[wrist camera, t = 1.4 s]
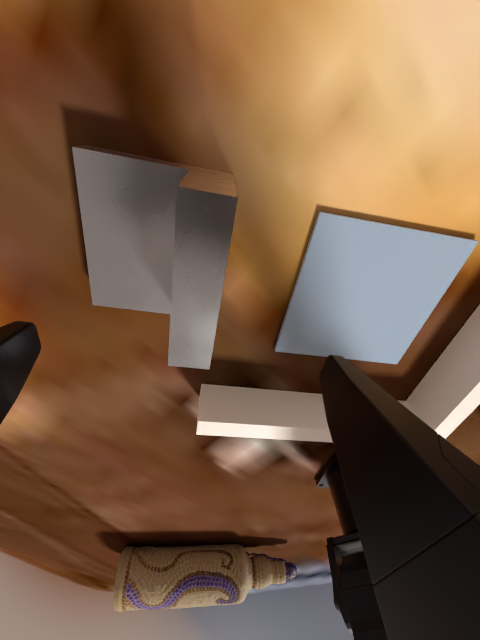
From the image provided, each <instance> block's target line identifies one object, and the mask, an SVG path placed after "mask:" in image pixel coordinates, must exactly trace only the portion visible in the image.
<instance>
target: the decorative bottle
mask: <svg viewBox="0 0 480 640" xmlns="http://www.w3.org/2000/svg"><path fill="white" fill-rule="evenodd" d="M247 555H249V556H250V555H253V557H251V558H250V557H248V556H247ZM284 562H286V560H283V559H281V558H279V559H277V558H271V557H268V556H267V555H265V554H255V553H252V554H249V553H248V552H246V551H245V549H244V548H243V546H241V545H239V544H232V545H227V544H224V545H198V546H166V547H147V546H144V547H132V546H130V547H125V548H124V550H123V551H122V554H121V556H120V560H119V564H118V568H117V573H116V580H115V587H114V610H115V611H117V612H122V611H125V610H130V611H131V610H143V609H173V608H175V609H178V608H189V607H202V606H203V607H204V606H206V607H207V606H211V605H227V604H229V605H232V604H239V603H242V602H243V601H244V599H245V597H246V595H247V592H248V591H249V590H250V589H251V588H255V589H262V588H265V587H267V586H269V585H270V584H282V583H285V581H286V580H292V579H293V578H294V577H295V576H296V573H297V568H296V566H295V564H293V563H290V562H286V563H284Z"/></svg>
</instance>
